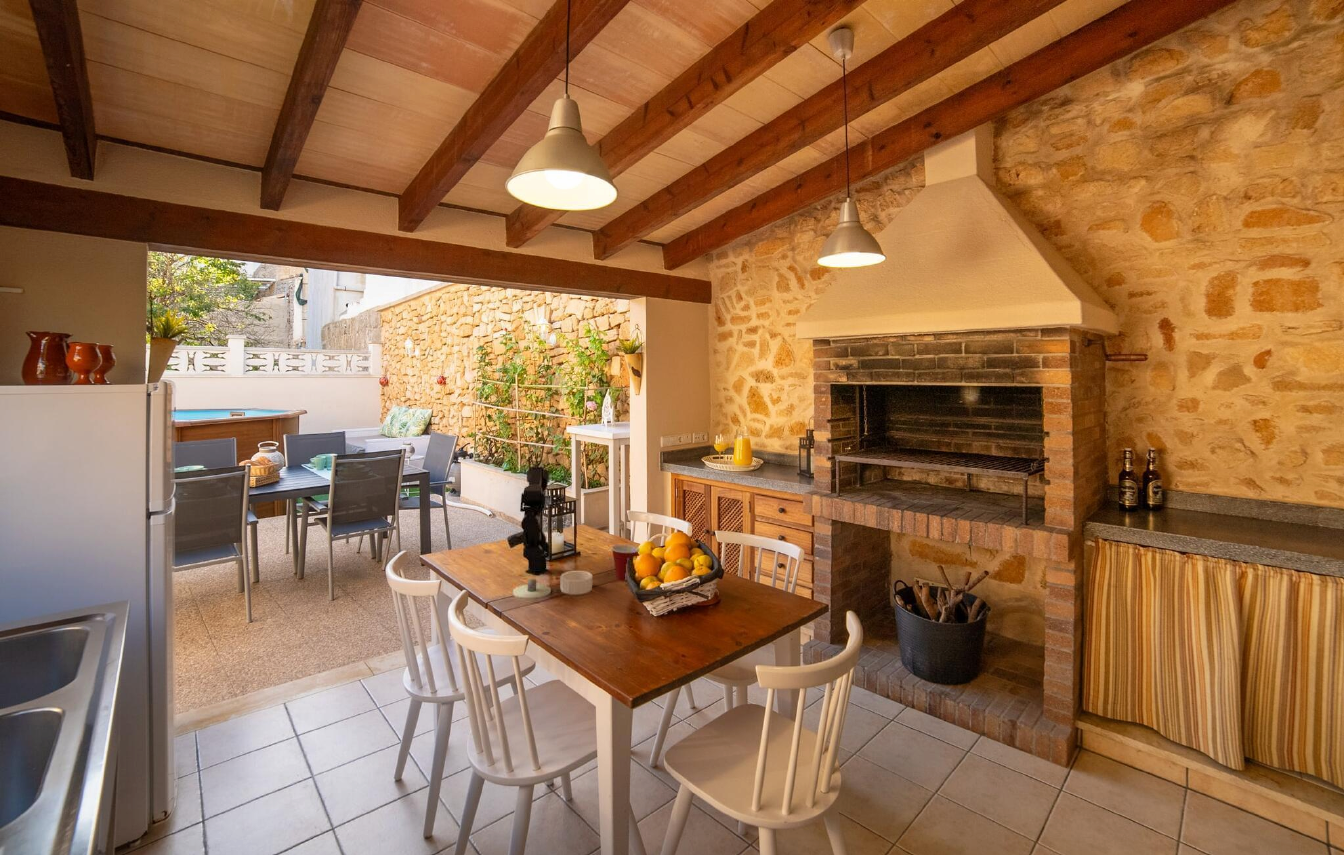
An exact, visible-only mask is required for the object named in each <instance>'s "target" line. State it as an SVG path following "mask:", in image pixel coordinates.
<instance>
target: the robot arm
mask: <svg viewBox="0 0 1344 855" xmlns="http://www.w3.org/2000/svg"><path fill="white" fill-rule="evenodd" d="M550 478H551V477H550V470H547V469H545V467H543V466H531V467H530V469H527V471H526V482H527V483H528V485H527V486H525V487H524V489H523V492H521V495H520V507H519V508H520V510H519V512H521V513H523V512H524V513H523V514H524V516H523V517H522V521H521V524H520V525H521V527H520V528H521V529H522V531H520V532H516V533H514V534H512V535H509V536H507V538H506V540H507V543H508V545H509V549H513V548H515V547H516V546H519V545H521V544H522V545H523V548H522V553H523V554H522V556H523V558H524V559H526V560H527V562H528V564H527V565H528V568H527V569H526V570H525V573H529V574H532V575H536V576H539V575H541V574H544V573H546V572H549V569H548V568H547V558H548V557H550V556H551V548H550V544H549V542H548V541H547V535H546V534H545V533H544V530H543V529H544V527H543V526H544V525H543V524H544V509H546V498H547V496H546V495H545V492H546V490H547V489H548V484H549V483H550V480H551V479H550Z"/></svg>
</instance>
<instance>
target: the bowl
mask: <svg viewBox="0 0 1344 855" xmlns="http://www.w3.org/2000/svg"><path fill="white" fill-rule="evenodd" d="M559 580H560V581H559V582H560V584H559V588H560V592H561V593H563V594H565V595H568V596H580V595H586V594H588V593H590V592H591V591H592V588H593V574H592V573H590V572H588V571H585V570H571V571H566V572H563V573H561V575H560V578H559Z"/></svg>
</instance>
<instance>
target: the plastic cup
mask: <svg viewBox="0 0 1344 855" xmlns="http://www.w3.org/2000/svg"><path fill="white" fill-rule="evenodd" d="M611 551H612V556H613V562H614V563H613V564H614V570H615V575H616V579H617V581H618V580H619V581H622V582H623V581H625V573H626V564H627V558H629V557H630V556H636V555H637V556H638V553H639V552H640V548H639V547H637V546H633V545H627V544H626V545H624V544H617V545H612V546H611Z"/></svg>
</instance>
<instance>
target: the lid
mask: <svg viewBox="0 0 1344 855" xmlns="http://www.w3.org/2000/svg"><path fill="white" fill-rule="evenodd" d="M551 592H552V589H551V588H550V586H548V585H547V584H541V583H540V584H539V583H537V579H534V578H529V579H527V583H526V584H523V585H519V586H517V587H515V588H514V589H513V591H512V595H513V596H515V597H516V598H519V599H525V600H530V599H531V600H532V599H534V600H535V599H540V598H544V597H546V596H548V595H549V594H550V593H551Z"/></svg>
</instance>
